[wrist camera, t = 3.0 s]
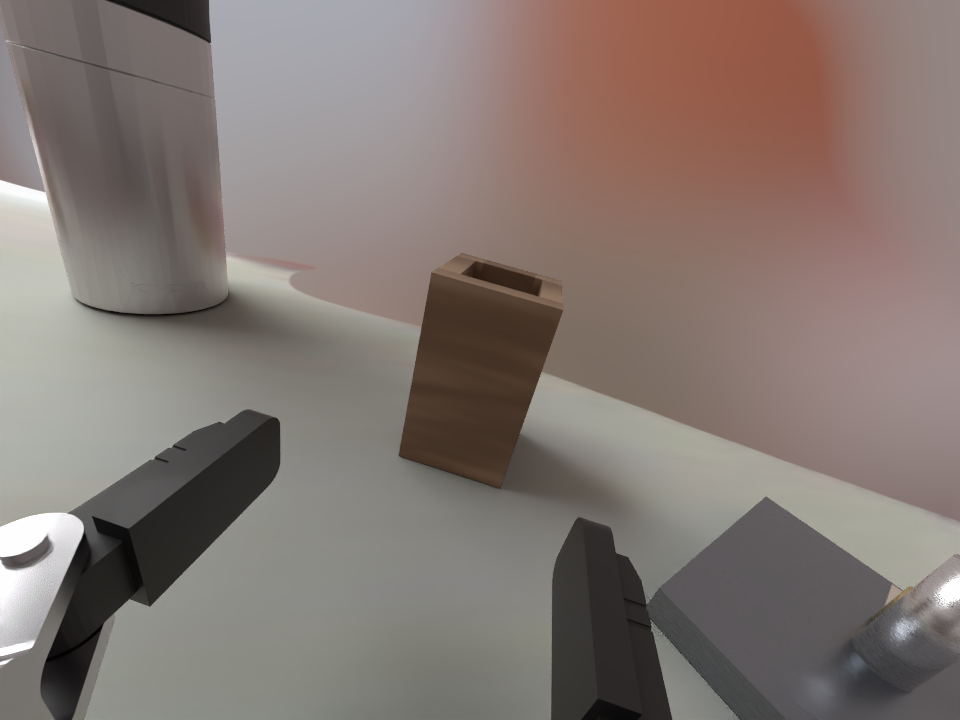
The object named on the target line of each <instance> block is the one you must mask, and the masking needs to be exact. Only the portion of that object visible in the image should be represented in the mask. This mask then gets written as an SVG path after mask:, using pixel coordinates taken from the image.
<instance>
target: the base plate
mask: <svg viewBox="0 0 960 720" xmlns="http://www.w3.org/2000/svg"><path fill="white" fill-rule="evenodd" d="M646 610H648V613H649V617H650V618H651V620H652V621H653V622H654V623H655V624H656V625H657V626H658V627H659V628H660V630H661V631H662V632H663V633H664V634H665V635H666V636H667V637H668V639H669V640H670V641H671V642H672V643H673V644H674V645H675V646H676V647H677V649H678V650H679V651H680V652H681V653H682V654H683V655H684V656H685V658H686V659H687V660H688V661H689V662H690V663H691V664H692V665H693V666H694V668H695V669H696V670H697V671H698V672H699V673H700V674H701V675H702V677H703V678H704V679H705V680H706V681H707V682H708V683H709V684H710V685H711V687H712V688H713V689H714V690H715V691H716V692H717V693H718V694H719V695H720V697H721V698H722V699H723V700H724V701H725V702H726V703H727V704H728V706H729V707H730V708H731V709H732V710H733V711H734V712H735V713H736V714H737V716H738V717H739V718H740V719H741V720H960V555H953V556H952V557H951V558H950V559H948V560H947V561H946V562H945V563H944V564H942V565H941V566H940V567H939V568H937V569H936V570H935V571H934V572H932V573H931V574H930V575H929V576H927V577H926V578H925V579H924V580H923V581H921V582H920V583H919V584H918V585H916V586H915V587H908V588H906V589H905V590H904V591H903V590H901V589H900V588H898V587H897V586H896V585H894V584H893V583H891V582H890V581H888V580H887V579H885V578H884V577H882V576H881V575H880V574H878V573H877V572H875V571H874V570H872V569H871V568H869V567H868V566H866V565H865V564H863V563H862V562H861V561H859V560H858V559H856V558H855V557H853V556H852V555H850V554H849V553H847V552H846V551H845V550H843V549H842V548H840V547H839V546H837V545H836V544H834V543H833V542H831V541H830V540H829V539H827V538H826V537H824V536H823V535H821V534H820V533H818V532H817V531H815V530H814V529H813V528H811V527H810V526H808V525H807V524H805V523H804V522H802V521H801V520H799V519H798V518H796V517H795V516H794V515H792V514H791V513H789V512H788V511H786V510H785V509H783V508H782V507H780V506H779V505H778V504H776V503H775V502H773V501H772V500H770V499H769V498H767V497H765V498H764V499H763V500H761V501H760V502H759V503H758V504H757V505H756V506H754V507H753V508H752V509H751V510H750V511H749V512H747V513H746V514H745V515H744V516H743V517H742V518H740V519H739V520H738V521H737V522H736V523H735V524H734V525H732V526H731V527H730V528H729V529H728V530H727V531H725V532H724V533H723V534H722V535H721V536H720V537H718V538H717V539H716V540H715V541H714V542H713V543H711V544H710V545H709V546H708V547H707V548H706V549H704V550H703V551H702V552H701V553H700V554H699V555H697V556H696V557H695V558H694V559H693V560H692V561H690V562H689V563H688V564H687V565H686V566H685V567H683V568H682V569H681V570H680V571H679V572H678V573H677V574H675V575H674V576H673V577H672V578H671V579H670V580H668V581H667V582H666V583H665V584H664V585H663V586H661V587H660V588H659V589H658V591H657V592H656V593H655V595H654V596H653V598H652V599H651V600H650V602H649V603H648V604H647V606H646Z"/></svg>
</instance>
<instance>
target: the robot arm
mask: <svg viewBox="0 0 960 720" xmlns="http://www.w3.org/2000/svg"><path fill="white" fill-rule="evenodd" d="M0 22H1V26H2V30H3V34H4V37H5V40H6V41H7V47H8V51H9V55H10V59H11V62H12V66H13V70H14V74H15V78H16V81H17V85H18V89H19V93H20V97H21V100H22V104H23V108H24V111H25V116H26V119H27V123H28V127H29V131H30V135H31V139H32V142H33V146H34V150H35V154H36V158H37V161H38V165H39V169H40V172H41V177H42V180H43V184H44V188H45V192H46V196H47V199H48V203H49V207H50V211H51V215H52V218H53V222H54V226H55V230H56V234H57V239H58V243H59V246H60V250H61V254H62V258H63V261H64V265H65V269H66V273H67V277H68V280H69V284H70V288H71V292H72V294H73V296H74V298H76V299H77V300H79V301H80V302H82V303H84V304H87V305H89V306H92V307H96V308H100V309H104V310H109V311H116V312H123V313H136V314H170V313H182V312H190V311H196V310H200V309H205V308H208V307H211V306H214V305H217V304H219V303H221V302H223V301H224V300H225V299H226V298H227V296H228V280H227V265H226V251H225V248H226V247H225V235H224V219H223V205H222V192H221V179H220V178H221V177H220V163H219V150H218V136H217V123H216V122H217V121H216V108H215V99H214V83H213V69H212V56H211V45H210V44H209V43H211V35H210V22H209V0H0ZM279 466H280V422H279V420H278V419H277V418H275V417H272V416H269V415H266V414H262V413H259V412H256V411H253V410H249V409H248V410H244V411H242V412H241V413H239V414H238V415H236V416H235V417H233V418H232V419H230V420H229V421H228V422H226V423H225V424H224V423H221V422H218V423H215V424H212V425H210V426H207V427H204V428H201V429H199V430H196V431H194V432H192V433H191V434H189V435H188V436H186V437H185V438H183V439H182V440H180V441H178V442H177V443H175V444H174V445H173V447H172V448H168V449H166V450H165V451H163V452H162V453H160V454H159V455H157V456H156V457H155V459H154V460H149V461H148V462H146V463H145V464H143V465H142V466H140V467H139V468H137V469H136V470H134V471H133V472H131V473H130V474H128V475H127V476H125V477H124V478H122V479H121V480H119V481H117V482H116V483H114V484H113V485H111V486H110V487H108V488H107V489H105V490H104V491H102V492H101V493H99V494H98V495H96V496H95V497H93V498H92V499H90V500H88V501H87V502H85V503H84V504H82V505H81V506H79V507H78V508H76V509H74V510H73V511H71V512H69V513H67V514H66V513H46V514H40V515H35V516H31V517H27V518H23V519H20V520H18V521H15V522H12V523H10V524H7V525H5V526H3V527H1V528H0V720H84V718H85V715H86V712H87V709H88V705H89V702H90V699H91V696H92V692H93V689H94V686H95V682H96V679H97V676H98V673H99V669H100V666H101V663H102V660H103V656H104V653H105V650H106V646H107V643H108V640H109V637H110V633H111V630H112V627H113V623H114V613H115V612H116V611H117V610H118V609H119V608H120V607H121V606H122V605H123V604H124V603H125V602H127V601H128V600H129V599H131V600H134V601H136V602H139V603H142V604H144V605H147V606H151V605H152V604H153V603H154V602H155V601H156V600H157V599H158V598H159V597H160V596H161V595H162V594H163V593H164V592H165V591H166V590H167V589H168V588H169V587H170V586H171V585H172V584H173V583H174V582H175V581H176V580H177V579H178V577H179V576H180V575H181V574H182V573H183V572H184V571H185V570H186V569H187V568H188V567H189V566H190V565H191V564H192V563H193V562H194V561H195V560H196V559H197V558H198V557H199V556H200V555H201V554H202V553H203V552H204V551H205V550H206V549H207V548H208V547H209V546H210V545H211V544H212V543H213V542H214V541H215V540H216V539H217V538H218V537H219V536H220V535H221V534H222V533H223V532H224V531H225V530H226V529H227V528H228V527H229V526H230V525H231V524H232V523H233V522H234V521H235V520H236V519H237V518H238V516H239V515H240V514H241V513H242V512H243V511H244V510H245V509H246V508H247V507H248V506H249V505H250V504H251V503H252V502H253V501H254V500H255V499H256V498H257V497H258V496H259V495H260V494H261V493H262V492H263V491H264V490H265V489H266V488H267V487H268V486H269V485H270V484H271V482H272V481H273V479H274V478H275V476H276V474H277V472H278V469H279ZM646 606H647V604H646V600H645V595H644V591H643V586H642V582H641V579H640V578H639V576H638V574H637V572H636V571H635V569H634V567H633V565H632V563H631V562H630V560H629V558H628V557H626V556H623V555H620V554H617V553H616V552H615V546H614V540H613V534H612V531H611V529H610V527H608V526H605V525H602V524H599V523H596V522H592V521H589V520H586V519H583V518H580V517H579V518H577V519H576V521H575V523H574V525H573V527H572V529H571V531H570V533H569V534H568V536H567V538H566V540H565V542H564V544H563V546H562V548H561V550H560V552H559V554H558V556H557V559H556V562H555V566H554V572H553V580H552V705H551V720H672V716H671V712H670V707H669V703H668V698H667V694H666V689H665V685H664V680H663V676H662V672H661V667H660V663H659V658H658V654H657V649H656V645H655V640H654V636H653V632H651V622H650V618H649V613H648V610H646Z"/></svg>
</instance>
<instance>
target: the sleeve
mask: <svg viewBox="0 0 960 720" xmlns="http://www.w3.org/2000/svg"><path fill="white" fill-rule="evenodd" d="M562 312H563V299H562V286H561V281H559V280H556V279H553V278H549V277H545V276H542V275H538V274H535V273H531V272H528V271H524V270H520V269H517V268H513V267H510V266H506V265H502V264H499V263H496V262H492V261H488V260H485V259H481V258H478V257H474V256H471V255H467V254H463V253H461V254H460V255H458V256H457V257H455V258H454V259H452V260H450V261H449V262H447V263H446V264H444V265H442V266H441V267H439V268H438V269H436V270H434V271H433V272H432V273H431V278H430V284H429V290H428V295H427V301H426V306H425V312H424V318H423V323H422V329H421V334H420V340H419V345H418V351H417V357H416V362H415V368H414V373H413V379H412V385H411V390H410V396H409V401H408V407H407V413H406V418H405V424H404V429H403V435H402V441H401V446H400V452H399V456H401V457H404V458H407V459H410V460H414V461H417V462H420V463H423V464H426V465H429V466H432V467H435V468H438V469H441V470H445V471H448V472H451V473H454V474H457V475H460V476H463V477H466V478H469V479H472V480H476V481H479V482H482V483H485V484H488V485H491V486H494V487H497V488H500V487H501V484H502V481H503V479H504V476H505V473H506V470H507V467H508V465H509V462H510V459H511V456H512V453H513V450H514V448H515V445H516V442H517V439H518V436H519V434H520V431H521V428H522V425H523V422H524V419H525V417H526V414H527V411H528V408H529V405H530V402H531V400H532V397H533V394H534V391H535V388H536V386H537V383H538V380H539V377H540V374H541V371H542V369H543V366H544V363H545V360H546V357H547V355H548V352H549V349H550V346H551V343H552V340H553V338H554V335H555V332H556V329H557V326H558V323H559V321H560V318H561V315H562Z"/></svg>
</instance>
